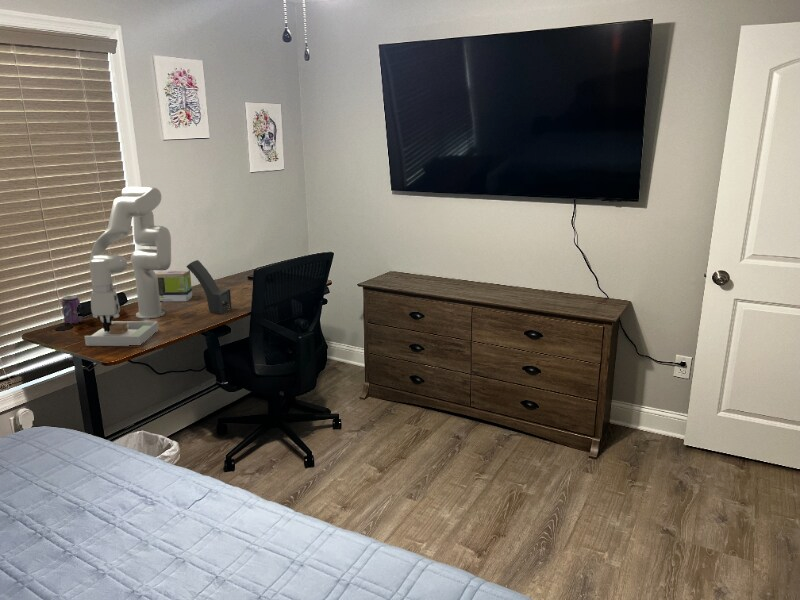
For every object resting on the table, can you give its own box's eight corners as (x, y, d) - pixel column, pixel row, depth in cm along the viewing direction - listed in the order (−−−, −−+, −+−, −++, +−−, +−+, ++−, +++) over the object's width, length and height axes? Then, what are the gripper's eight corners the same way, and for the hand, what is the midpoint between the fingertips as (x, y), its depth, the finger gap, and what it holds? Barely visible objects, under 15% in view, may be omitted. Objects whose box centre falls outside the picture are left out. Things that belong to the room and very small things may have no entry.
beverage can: (62, 322, 273) (58, 297, 270) (78, 319, 278) (75, 294, 275) (68, 326, 269) (64, 300, 265) (85, 322, 274) (81, 297, 271)
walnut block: (115, 330, 256) (114, 322, 255) (127, 330, 256) (126, 322, 255) (110, 334, 251) (109, 326, 250) (122, 334, 251) (121, 326, 250)
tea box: (192, 296, 317) (190, 269, 313) (187, 302, 308) (184, 273, 304) (164, 296, 317) (161, 269, 313) (157, 302, 307) (154, 273, 303)
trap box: (108, 329, 264) (107, 321, 263) (158, 330, 264) (157, 321, 263) (85, 345, 245) (84, 336, 244) (140, 346, 245) (139, 336, 244)
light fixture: (199, 306, 300) (195, 258, 293) (232, 308, 297) (228, 260, 291) (188, 312, 290) (184, 263, 283) (222, 314, 287) (218, 265, 280)
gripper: (124, 286, 252) (129, 328, 257) (89, 286, 252) (94, 327, 257) (116, 290, 245) (121, 333, 250) (79, 290, 245) (85, 333, 250)
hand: (108, 330), depth 254 cm, fingers closed
